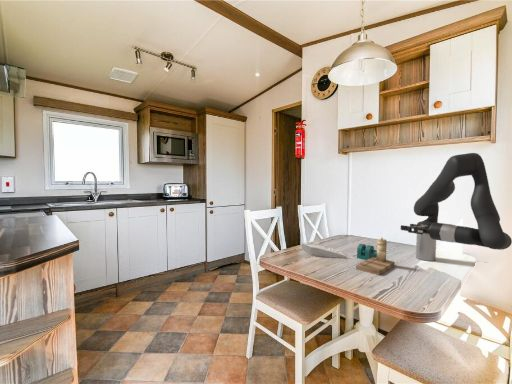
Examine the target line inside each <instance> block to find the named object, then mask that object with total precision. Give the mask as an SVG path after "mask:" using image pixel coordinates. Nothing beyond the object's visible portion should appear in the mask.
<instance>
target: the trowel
mask: <svg viewBox="0 0 512 384" xmlns="http://www.w3.org/2000/svg"><path fill="white" fill-rule="evenodd" d="M301 250H302V251H303V250H304V251H305V253H306V252H307V253H306V254H307V255H309V256H311V257H322V258H323V257H325V258H337V259H339V258H340V259H346V255H345V254H344V253H343V252H341V251H340V250H339V249H336V248H332V247H327V246H321V245H317V244H313V243H309V242H303V241H302V242H301ZM304 251H303V252H304Z"/></svg>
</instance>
